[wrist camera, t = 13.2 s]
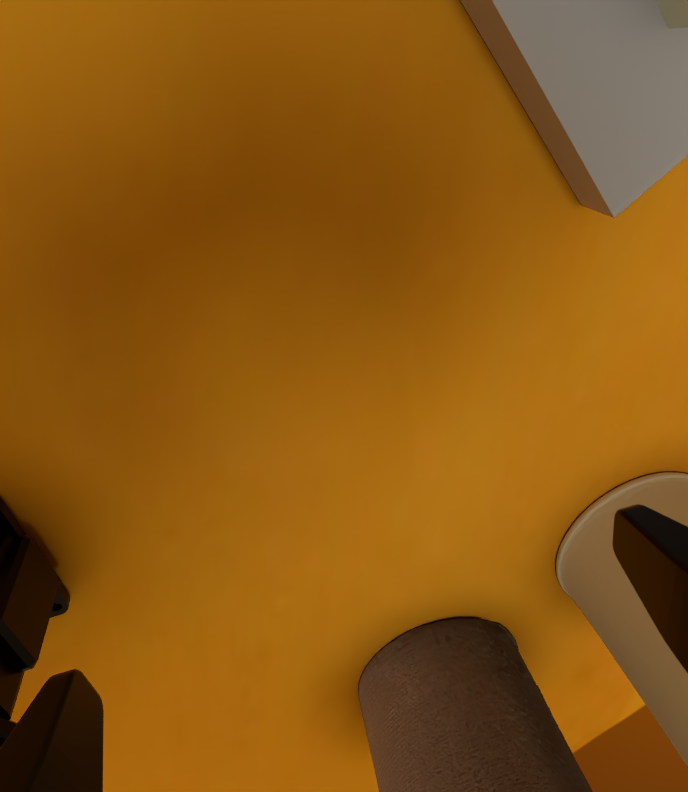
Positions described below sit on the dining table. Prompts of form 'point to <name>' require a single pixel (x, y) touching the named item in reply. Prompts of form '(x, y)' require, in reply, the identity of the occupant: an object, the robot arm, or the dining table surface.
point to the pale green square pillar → (674, 12)
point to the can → (629, 598)
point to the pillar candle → (462, 715)
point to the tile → (595, 88)
